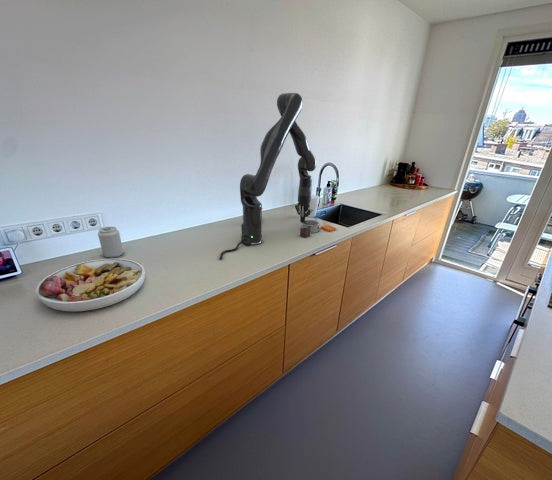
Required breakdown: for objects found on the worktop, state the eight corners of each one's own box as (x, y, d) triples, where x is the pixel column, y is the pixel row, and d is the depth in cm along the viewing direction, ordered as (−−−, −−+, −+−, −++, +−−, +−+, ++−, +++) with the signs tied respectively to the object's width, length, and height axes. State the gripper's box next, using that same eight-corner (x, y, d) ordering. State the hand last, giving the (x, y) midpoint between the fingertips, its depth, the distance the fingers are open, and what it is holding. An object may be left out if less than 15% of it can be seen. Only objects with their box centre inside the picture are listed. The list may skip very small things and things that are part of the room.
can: (120, 249, 128) (115, 224, 123) (126, 255, 124) (120, 229, 118) (101, 254, 123) (94, 227, 118) (106, 260, 119) (99, 233, 113)
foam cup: (313, 218, 190) (315, 199, 184) (301, 215, 194) (303, 196, 188) (320, 215, 197) (322, 196, 192) (308, 212, 201) (309, 194, 196)
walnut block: (305, 237, 157) (305, 230, 155) (299, 235, 159) (300, 228, 158) (310, 236, 160) (310, 229, 158) (304, 234, 162) (305, 227, 160)
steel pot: (310, 234, 163) (311, 226, 161) (298, 229, 169) (298, 221, 167) (322, 230, 169) (322, 223, 167) (310, 226, 175) (310, 218, 173)
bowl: (125, 262, 118) (121, 245, 114) (162, 290, 101) (159, 270, 98) (30, 289, 96) (21, 269, 93) (57, 330, 80) (48, 307, 76)
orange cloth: (329, 231, 169) (329, 229, 168) (320, 228, 173) (320, 226, 172) (335, 229, 172) (336, 227, 172) (326, 226, 177) (327, 224, 176)
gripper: (292, 192, 166) (290, 220, 174) (308, 197, 158) (306, 226, 166) (301, 190, 171) (299, 218, 179) (317, 195, 163) (314, 224, 170)
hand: (302, 222), depth 172 cm, fingers closed
